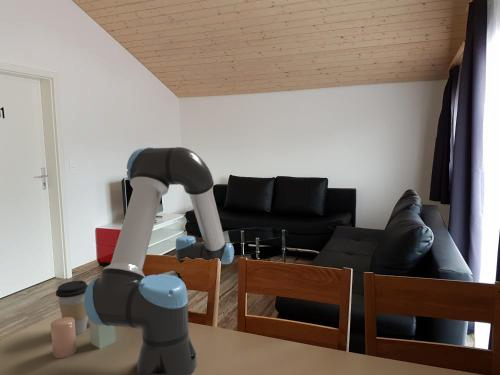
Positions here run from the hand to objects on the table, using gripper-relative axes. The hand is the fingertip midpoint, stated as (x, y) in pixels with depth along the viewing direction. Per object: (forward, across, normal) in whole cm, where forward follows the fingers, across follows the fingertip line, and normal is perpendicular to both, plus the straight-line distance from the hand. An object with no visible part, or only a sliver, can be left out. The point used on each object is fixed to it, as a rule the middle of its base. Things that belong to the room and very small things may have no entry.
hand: (98, 302), depth 122 cm
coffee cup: (+7, 0, -7) cm, 10 cm away
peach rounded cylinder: (+13, -11, -7) cm, 19 cm away
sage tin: (+3, -13, -7) cm, 15 cm away
